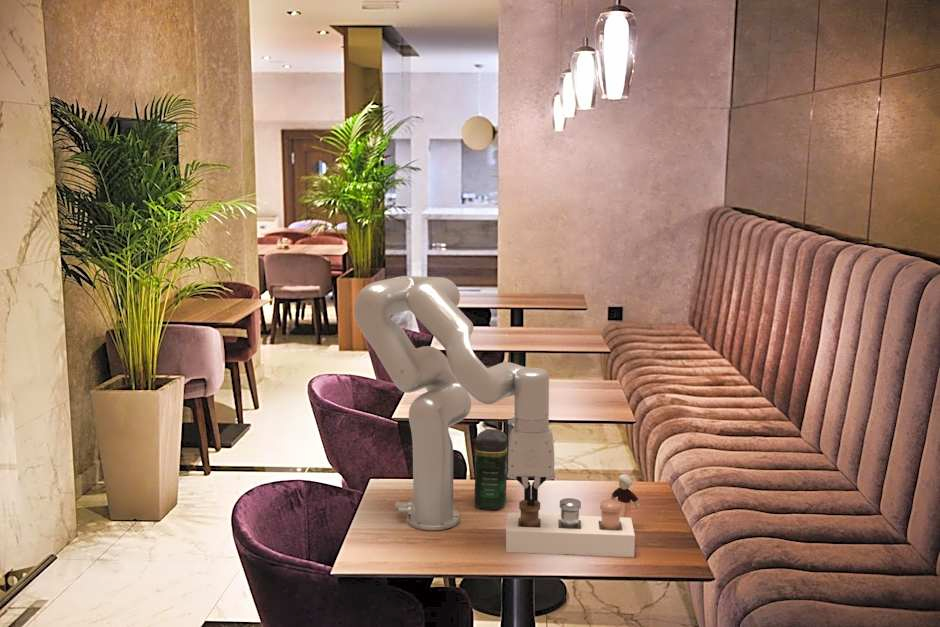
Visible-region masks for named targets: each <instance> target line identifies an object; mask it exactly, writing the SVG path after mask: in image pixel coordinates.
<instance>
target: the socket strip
mask: <svg viewBox="0 0 940 627" xmlns="http://www.w3.org/2000/svg"><path fill="white" fill-rule="evenodd" d="M601 518H602V516H595V515H593V516H592V515H579V529H566V528H561V514H541V513H539V515H538V527H520V521H521V513H515V512H513V513H512V512H511V513H507V520H506V527H505V528H506V529H505V530H506V531H505V553H518V554H519V553H523V554H540V553H541V554H542V555H543V554H546V555H565V554H575V555H574V556H590V555H592V557H593V556H595V557H619V558H620V557H621V558H622V557H623V558H635V542H636V540H635V539H636V535H635V530H634V525H633V521H632V517H630V518H625V517H620V522H619V530H601Z"/></svg>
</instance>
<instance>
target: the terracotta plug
mask: <svg viewBox="0 0 940 627" xmlns="http://www.w3.org/2000/svg"><path fill="white" fill-rule="evenodd" d="M599 504H600V506H599V508H600V511H601V517H602V518H601V530H619V522H620V511H621V510H622V503H621V502H619V501H617V500H616V499H615V500H610V499H604V500H601V501H600V503H599Z"/></svg>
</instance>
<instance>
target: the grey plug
mask: <svg viewBox="0 0 940 627" xmlns="http://www.w3.org/2000/svg"><path fill="white" fill-rule="evenodd" d="M581 507H582V501H581V500H579V499H576V498H573V497H572V498H571V497H570V498H569V497H568V498H566V497H565V498H562V499H559V509H560V515H561V528H566V529H579V516H580V510H581Z"/></svg>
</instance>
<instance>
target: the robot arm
mask: <svg viewBox="0 0 940 627" xmlns="http://www.w3.org/2000/svg"><path fill="white" fill-rule="evenodd" d="M460 300H461V294H460V291H459V288H458V286H457V285H456V284H455V283H454V282H453V281H452V280H451V279H449V278H446V277H443V276H441V277H438V276H417V275H416V276H415V275H402V276H397V277H392V278H387V279H382V280H378V281H377V280H376V281H374V282H371V283H368V284H367V285H365V286H364V287H362V288H361V290H359V292H358V294H356V297H355V299H354V305H353V315H354V319H355V323H356V325H357V327H358V329H359V331H360V332H361V334H362V335H363V337H364V338H365V340H366V341H367V342H368V344H369V345H370V346H371V349H373V351H374V353H375V354H376V356H377V358H378V359H379V361H380V362H381V364H382V366H383V368H384V369H385V371H386V373H387V374H388V376H389V377H390V379H391V381H392V382H393V384H394V385H395V386H396V388H397V389H398V390H399V391H401V392H402V393H406V394H410V393H415V392H417V391H420V390H422V389H425V390H426V392H424V393H422V394H420V395H418V396H417V397H416V398H415V399H414V400H413V401H412V403H411V404H410V406H409V410H408V422H409V427H410V432H411V438H412V439H411V440H412V475H413V476H412V488H413V489H412V493H413V494H412V495H413V498H412V500H409V501H408V502H407V501H406V502H405V501H395V503H394V510H396V511H398V513H399V514H404V513H406V514H407V515H406V522H407V523H408V525H410V526H411V527H413V528H415V529H418V530H422V531H423V530H424V531H443V530H446V529H449V528H453V527H455V526H457V525H458V524H459V522H460V520H461V516H460V513H459V512H458V511H457V510H455V509H454V446H453V441H452V437H451V436H450V431H449V428H450V427H451V426H453V425H455V424H458V423H460V422H461V421H464V420H465V419H466V418H467V417H468V415H469V414H470V411H471V408H472V399H471V396H472V398H474V399H475V400H477V401H478V402H480V403H482V404H487V405H492V404H495V403H498V402H500V401H502V400H504V399H506V398H510V397H512V396H514V403H513V404H514V406H513V407H514V411H513V412H514V416H513V417H511V418H508V419H507V425H510V426H512V427H513V428H512V429H511V430H510V434H509V442H508V451H507V478H508V479H511V480H515V481H518V483H519V484H520V485H522V487H523V489H524V490H523V491H524V492H523V494H524V495H523V497H524V498H523V500H527V505H528V506H530V505H532V506H534V505H535V501H539V493H538V492H539V488H540V486H541V485H542V484H544V483H545V482H546V481H550V480H555V478H556V472H555V444H554V434H553V431H552V429H551V428H549V426H550V425H549V423H550V422H549V421H550V420H549V416H550V415H549V414H550V411H549V410H550V401H549V400H550V376H549V375H550V374H549V373H548V371H547V370H546V369H544V368H541V367H532V366H531V367H530V366H529V367H527V366H523V365H520V364H517V363H514V362H510V361H509V362H507V361H503V362H500V363H497V364H495V365H492V366H490V367H487V366H486V365H485V364H484V363H483V362H482V360H480V359H479V358H478V356H477V355H476V353H474V351H473V348H472V346H471V345H472V344H471V337H472V336H471V335H472V333H473V332H474V324H473V322H472V320H470V318H468V317H467V316H466V315H465V314H464V312H462V310H461V309H460V308H459V307H458V305H459V303H460ZM407 311H410V313H412V314H413V315H414V316H415V318H416V319H417V320H418V321H419V322H420V323H421V324H422V325H423V327H425V328H426V330H428V332H429V333H431V335H432V336H433V337H434V338H435V340H437V342H439V344H440V345H441V346H442V347H443V348H444V350H445V353H446V354H445V353H443V352H442V351H441V350H439V349H438V348H436V347H434V346H429V345H426V346H425V345H424V346H420V347H416V346H415V345H414V344H413V343H412V341H411V340H410V338H409V336H408V334H407V333H406V332H405V331H404V329H403V328H402V327H401V326H400V324H397V322H395V321H393V319H391V315H396V314H400V313H403V312H407ZM529 477H530V478H531V477H532V478H533V477H534V478H533V482H532V484H531V483H530V481H529Z"/></svg>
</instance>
